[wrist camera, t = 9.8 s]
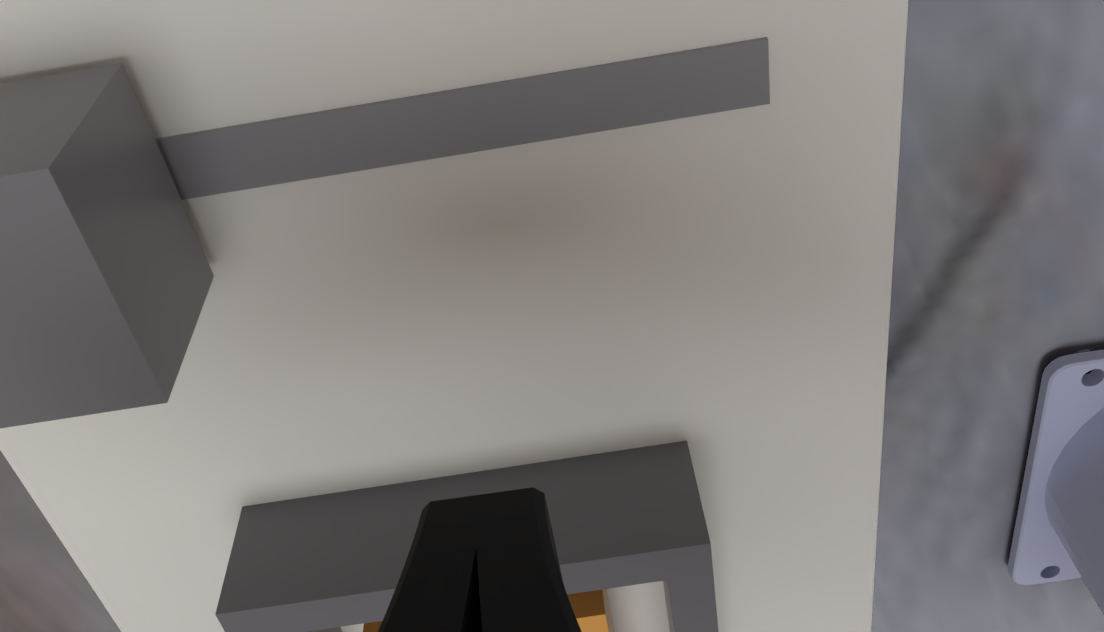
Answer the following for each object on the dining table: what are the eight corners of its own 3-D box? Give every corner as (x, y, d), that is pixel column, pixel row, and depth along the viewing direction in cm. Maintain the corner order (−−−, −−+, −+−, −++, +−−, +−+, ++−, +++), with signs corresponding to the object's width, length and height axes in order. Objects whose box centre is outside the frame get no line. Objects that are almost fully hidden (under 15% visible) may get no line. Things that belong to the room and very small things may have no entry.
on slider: (123, 61, 14) (48, 168, 12) (214, 276, 16) (167, 403, 14) (-47, 91, 14) (-155, 202, 12) (66, 299, 16) (-5, 429, 14)
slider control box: (833, -304, 16) (1008, -230, 10) (822, 550, 28) (902, 782, 22) (-170, -122, 16) (-472, 32, 11) (244, 632, 28) (191, 876, 23)
